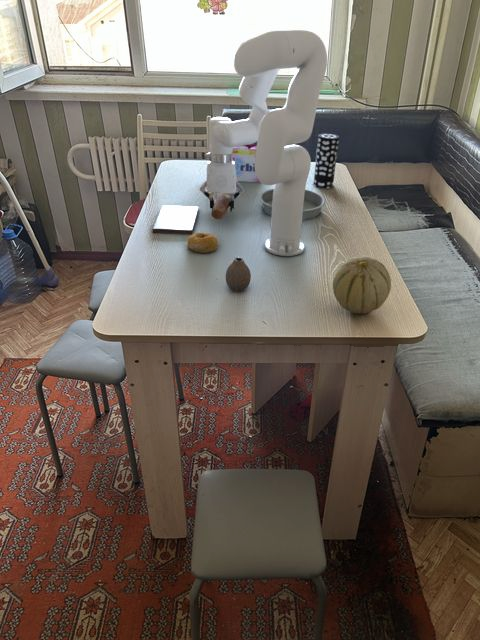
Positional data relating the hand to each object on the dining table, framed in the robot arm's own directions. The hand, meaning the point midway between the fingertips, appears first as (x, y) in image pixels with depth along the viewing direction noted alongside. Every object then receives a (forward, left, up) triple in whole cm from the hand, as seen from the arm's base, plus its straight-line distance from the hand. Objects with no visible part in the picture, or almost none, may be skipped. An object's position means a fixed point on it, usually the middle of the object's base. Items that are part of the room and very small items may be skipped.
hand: (222, 210), depth 186 cm
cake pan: (+12, -25, -3) cm, 28 cm away
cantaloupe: (-60, -39, -3) cm, 72 cm away
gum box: (+47, -3, -3) cm, 47 cm away
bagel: (-25, +5, -3) cm, 26 cm away
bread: (0, 0, -1) cm, 1 cm away
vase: (-51, -7, -3) cm, 52 cm away
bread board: (-4, +16, -3) cm, 16 cm away
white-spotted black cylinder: (+43, -40, -3) cm, 59 cm away
